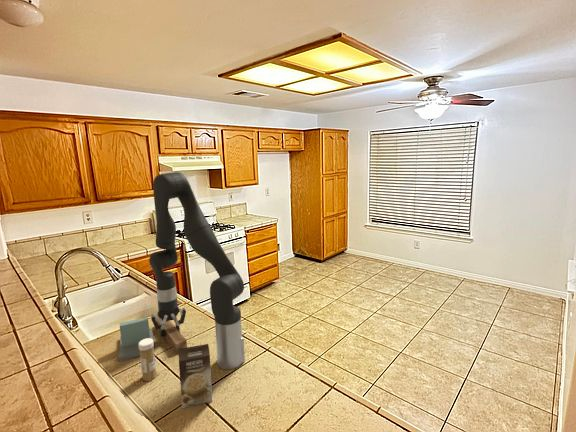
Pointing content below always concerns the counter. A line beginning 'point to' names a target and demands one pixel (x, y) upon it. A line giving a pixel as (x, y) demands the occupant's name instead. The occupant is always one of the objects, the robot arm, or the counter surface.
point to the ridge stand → (133, 337)
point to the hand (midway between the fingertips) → (170, 334)
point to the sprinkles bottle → (147, 359)
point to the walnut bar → (173, 335)
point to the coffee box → (195, 375)
